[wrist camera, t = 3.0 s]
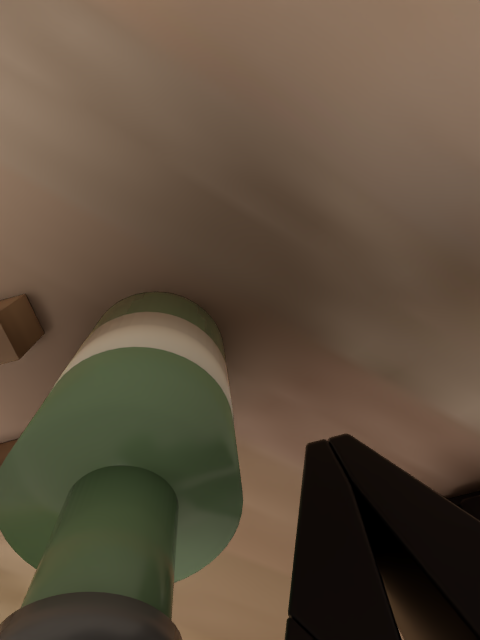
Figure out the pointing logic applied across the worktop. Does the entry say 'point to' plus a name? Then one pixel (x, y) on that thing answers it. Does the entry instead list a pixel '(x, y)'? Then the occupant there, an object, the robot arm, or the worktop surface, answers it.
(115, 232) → the worktop surface
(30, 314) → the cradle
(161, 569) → the bottle
